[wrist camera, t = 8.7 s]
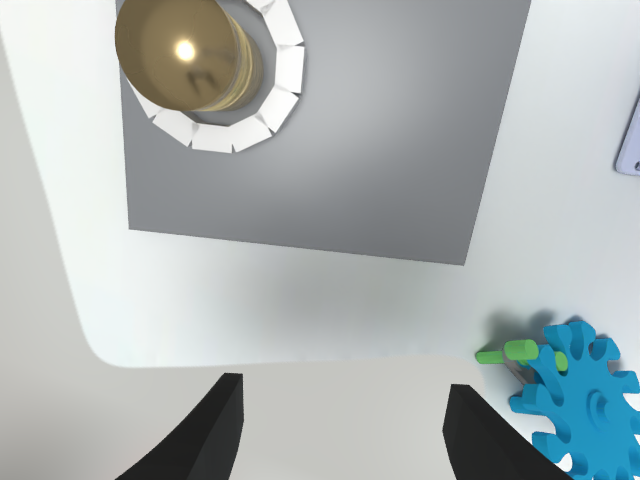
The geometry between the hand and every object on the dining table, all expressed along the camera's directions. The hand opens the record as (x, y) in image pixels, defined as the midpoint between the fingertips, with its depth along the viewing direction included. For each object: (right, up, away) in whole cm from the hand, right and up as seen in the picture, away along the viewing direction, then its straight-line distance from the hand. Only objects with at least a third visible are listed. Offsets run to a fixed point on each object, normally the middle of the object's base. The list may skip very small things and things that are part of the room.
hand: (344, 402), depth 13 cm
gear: (+14, -2, +12) cm, 19 cm away
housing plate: (-1, +12, +7) cm, 14 cm away
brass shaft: (-6, +14, +5) cm, 16 cm away
